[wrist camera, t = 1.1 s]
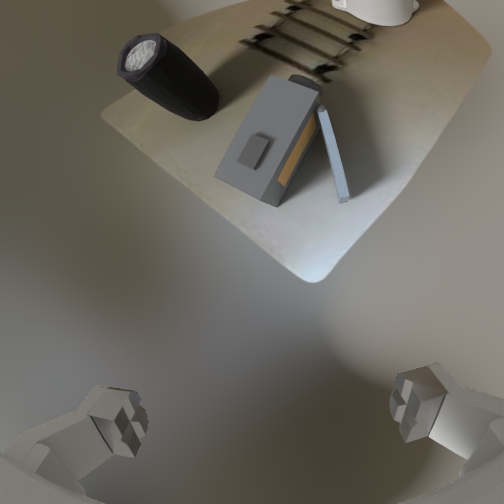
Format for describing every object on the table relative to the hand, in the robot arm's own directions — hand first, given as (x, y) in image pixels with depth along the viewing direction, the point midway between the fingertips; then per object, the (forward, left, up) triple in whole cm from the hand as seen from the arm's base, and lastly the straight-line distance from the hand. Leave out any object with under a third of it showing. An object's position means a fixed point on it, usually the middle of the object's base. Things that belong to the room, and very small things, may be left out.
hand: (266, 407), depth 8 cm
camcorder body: (-19, -4, -36) cm, 41 cm away
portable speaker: (-31, -17, -36) cm, 51 cm away
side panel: (-15, +3, -34) cm, 38 cm away
